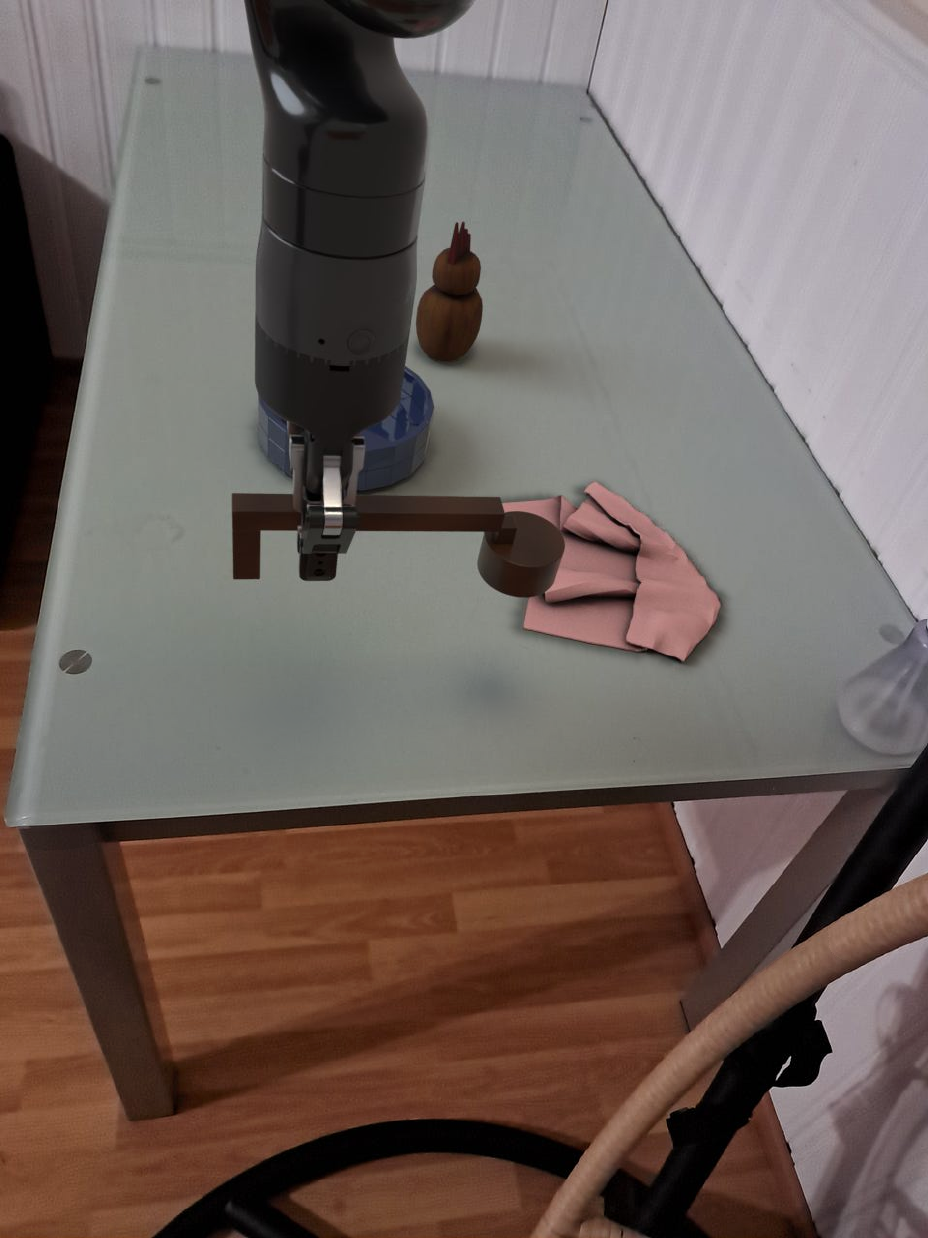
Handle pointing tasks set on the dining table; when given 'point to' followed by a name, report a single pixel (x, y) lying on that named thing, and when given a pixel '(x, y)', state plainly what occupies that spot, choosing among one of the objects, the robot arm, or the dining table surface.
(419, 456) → the bowl
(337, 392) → the robot arm
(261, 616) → the dining table surface
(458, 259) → the wooden figurine
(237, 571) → the ladle
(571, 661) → the dining table surface
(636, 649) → the cloth
